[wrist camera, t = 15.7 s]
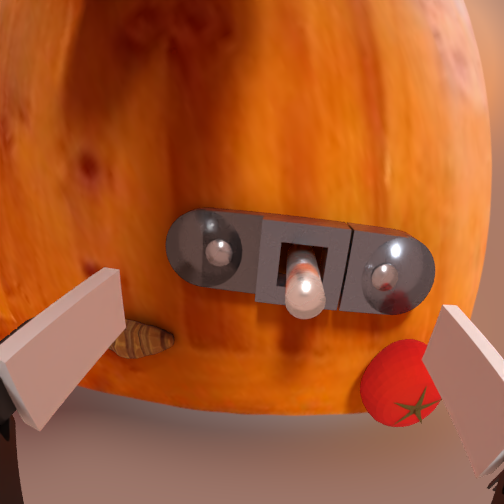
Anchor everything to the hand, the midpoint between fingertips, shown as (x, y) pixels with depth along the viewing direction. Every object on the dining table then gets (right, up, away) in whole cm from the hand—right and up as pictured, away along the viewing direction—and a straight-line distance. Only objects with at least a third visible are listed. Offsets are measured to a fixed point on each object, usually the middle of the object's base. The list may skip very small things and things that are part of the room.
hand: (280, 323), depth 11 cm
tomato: (+19, -13, +26) cm, 35 cm away
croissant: (-18, -9, +30) cm, 36 cm away
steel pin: (+5, +2, +24) cm, 24 cm away
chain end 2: (+10, +2, +23) cm, 25 cm away
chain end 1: (-1, +3, +24) cm, 24 cm away
